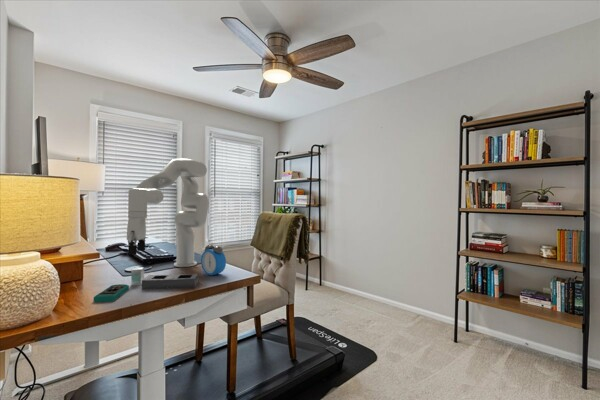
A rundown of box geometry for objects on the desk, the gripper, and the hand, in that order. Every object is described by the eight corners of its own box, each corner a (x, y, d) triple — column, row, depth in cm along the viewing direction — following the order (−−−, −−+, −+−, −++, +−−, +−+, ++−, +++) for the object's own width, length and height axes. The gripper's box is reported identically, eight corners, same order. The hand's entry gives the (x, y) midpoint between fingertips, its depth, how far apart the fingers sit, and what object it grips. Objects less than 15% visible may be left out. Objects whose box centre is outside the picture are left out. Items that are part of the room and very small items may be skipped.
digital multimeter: (129, 290, 125) (129, 283, 125) (113, 302, 111) (113, 295, 111) (111, 291, 124) (111, 284, 124) (92, 303, 109) (92, 296, 109)
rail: (148, 283, 132) (148, 275, 132) (198, 282, 136) (198, 273, 136) (141, 289, 125) (141, 280, 124) (194, 287, 128) (194, 278, 128)
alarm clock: (200, 273, 150) (200, 245, 150) (210, 271, 156) (210, 243, 155) (217, 277, 143) (217, 247, 143) (226, 275, 148) (226, 246, 148)
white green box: (135, 282, 134) (135, 267, 134) (144, 282, 135) (144, 267, 135) (131, 285, 130) (131, 269, 130) (140, 284, 131) (140, 269, 131)
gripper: (136, 214, 140) (136, 249, 140) (119, 216, 123) (119, 256, 123) (153, 214, 141) (152, 249, 141) (138, 216, 124) (138, 256, 124)
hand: (137, 252), depth 132 cm, fingers open, 9 cm apart
